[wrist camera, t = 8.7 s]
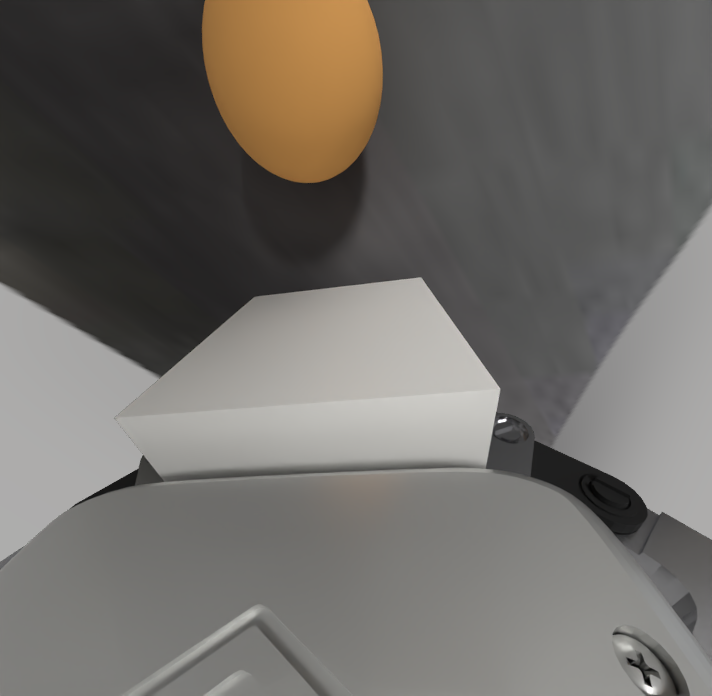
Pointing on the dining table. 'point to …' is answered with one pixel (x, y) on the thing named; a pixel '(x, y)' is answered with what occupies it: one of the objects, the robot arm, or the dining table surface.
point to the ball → (295, 81)
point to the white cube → (321, 390)
